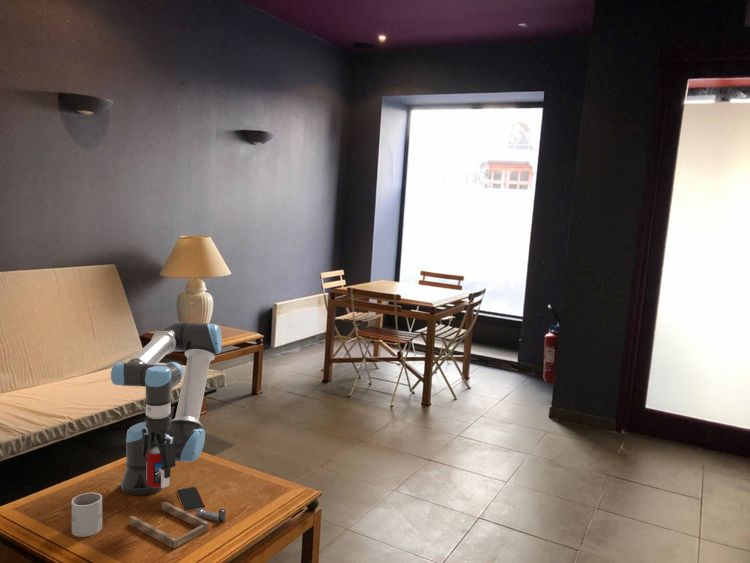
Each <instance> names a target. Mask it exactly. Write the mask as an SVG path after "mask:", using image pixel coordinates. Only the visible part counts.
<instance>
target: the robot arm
mask: <svg viewBox="0 0 750 563" xmlns="http://www.w3.org/2000/svg"><path fill="white" fill-rule="evenodd" d="M222 346H223V337H222V331H221V327H220V326H219V325H218V324H217V323H216V324H215V323H209V322H207V323H203V322H186V321H184V322H183V321H180V322H179V321H178V322H175V323H172V324H169V325H166V326H164V327H162V328H161V329H159V330H157V331H156V332H155V333H153V335H152V337H151V340H150V341H149V342H148V343H147V344H146V345H145V346H144V347H142V348H141V349H140V350H139V351H138V352H137V353H136V354H135V355H133V357H131V358H130V359H129V360H128V361H127V362H115V364H114V365H113V366H112V368H111V371H110V380H111V383H112V384H113V385H114V386H121V387H122V386H123V387H144V388H145V421H142V422H139V423H136V424H133V425H132V426H130V427H129V429H127V432H126V439H125V444H126V446H125V447H126V448H125V449H126V453H125V454H126V457H125V458H126V462H125V463H126V466H125V471H124V473H123V476H122V480H121V482H120V483H121V484H120V490H121V492H123V493H124V494H127V495H131V496H145V495H150V494H155V493H157V492H159V491H160V490H162V489H165V488H166V487H169V486H170V485H171V484H170V482H171V480H170V479H171V468H174V467H176V462H180V463H186V462H191V463H192V462H195V461H196V460H198V459H199V457H200V456H201V454H202V452H203V449H204V446H205V441H206V440H205V439H206V431H205V429H203V424H202V423H201V421H200V416H201V411H202V406H203V401H204V395H205V389H206V384H207V380H208V374H209V368H210V364H211V361H214V360H215V358H216V354H217V355H218V354H220V353H221V352H222V348H223V347H222ZM172 352H184V356H185V357H186V359H187V360H186V366H185V370H184V368H183V366H182V365H181V364H180V363H178V362H176V361H171V362H167V363H164V364H158V363H160V361H162V359H163V358H164V357H165V356H166V355H170V354H172ZM181 380H182V383H181V389H180V393H179V398H178V402H177V403H178V404H177V408H176V412H175V417H174V418H173V419H171V414H172V413H171V412H172V410H171V408H172V406H171V405H172V404H171V403H172V402H171V401H172V400H171V397H172V395H171V393H172V390H173V389H174V388H175V387H176V386H177V385H178V384H179V383H180V382H181ZM155 446H157V448H159V451H160V456H161V461H162V465H163V468H161V487H160V488H152V487H150V486H148V485H147V454H148V452H149V449H150V448H153V447H155Z"/></svg>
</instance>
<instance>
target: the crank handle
mask: <svg viewBox="0 0 750 563" xmlns="http://www.w3.org/2000/svg"><path fill="white" fill-rule="evenodd" d="M226 511H227V510H226V509H225V508H220V509H218V513H217V512H214V511H213V512H212V511H209V510H206V509H203V508H198V509H197V510H196V511H195V516H197V517H199V518H202V519H203V518H204V519H208V520H212V521H216V522H218V523H225V522H226V514H227V513H226Z"/></svg>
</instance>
